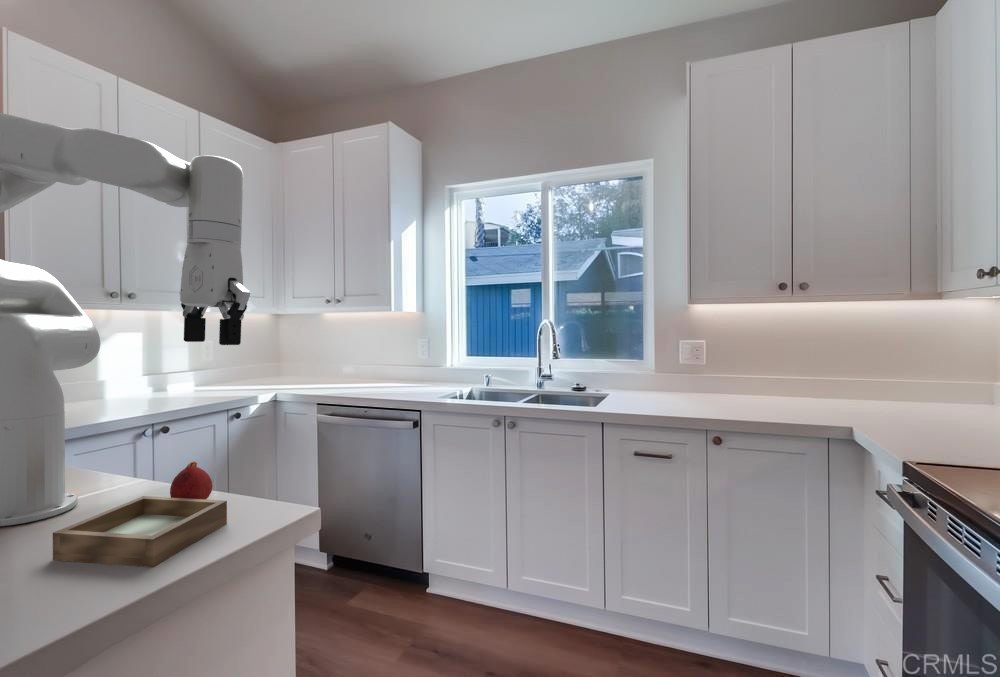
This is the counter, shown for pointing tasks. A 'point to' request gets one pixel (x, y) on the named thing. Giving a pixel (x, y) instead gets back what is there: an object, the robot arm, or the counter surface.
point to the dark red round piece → (191, 483)
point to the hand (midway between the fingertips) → (211, 343)
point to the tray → (140, 531)
